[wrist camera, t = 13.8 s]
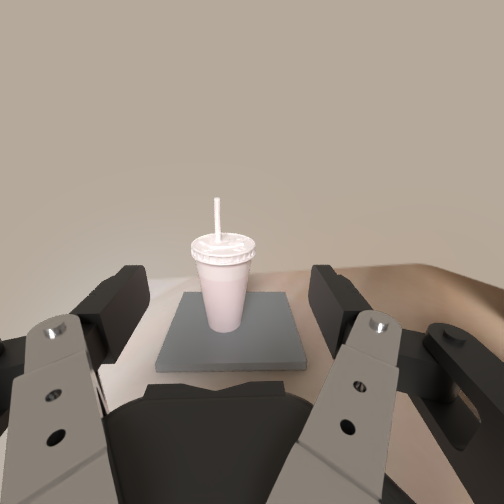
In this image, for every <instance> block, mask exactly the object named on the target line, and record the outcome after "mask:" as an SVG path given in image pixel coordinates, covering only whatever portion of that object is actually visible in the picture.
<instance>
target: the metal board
mask: <svg viewBox="0 0 504 504" xmlns="http://www.w3.org/2000/svg"><path fill="white" fill-rule="evenodd" d="M155 366H156V372H198V371H256V370H306V367H307V359H306V356H305V353H304V350H303V347H302V344H301V341H300V337H299V334H298V331H297V328H296V325H295V322H294V319H293V315H292V312H291V309H290V306H289V303H288V300H287V297H286V294H285V292H246V295H245V301H244V307H243V312H242V318H241V324H240V326H239V327H238V328H237V329H236V330H234V331H231V332H227V333H220V332H216V331H214V330H212V329H211V328H210V326H209V323H208V319H207V314H206V309H205V304H204V299H203V294H202V292H184V293H183V296H182V298H181V301H180V303H179V306H178V308H177V311H176V313H175V316H174V318H173V321H172V323H171V326H170V328H169V331H168V333H167V336H166V338H165V341H164V343H163V346H162V348H161V351H160V353H159V356H158V358H157V361H156V363H155Z"/></svg>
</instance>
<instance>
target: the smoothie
mask: <svg viewBox="0 0 504 504" xmlns="http://www.w3.org/2000/svg"><path fill="white" fill-rule="evenodd" d="M214 210H215V211H214V212H215V233H213V234H207V235H204V236H201V237H198V238H197V239H195V240H194V241H193V242H192V243H191V249H192V251H191V255H192V257H193V258H194V259H196V265H197V270H198V274H199V279H200V284H201V289H202V294H203V299H204V304H205V309H206V314H207V319H208V323H209V326H210V328H211V329H212V330H214V331H216V332H220V333H227V332H231V331H234V330H236V329H237V328H238V327H239V326H240V324H241V318H242V312H243V307H244V301H245V295H246V289H247V283H248V277H249V271H250V265H251V259H252V258H253V257H254V256H255V254H256V251H255V242H254V241H253V240H252V239H251V238H249V237H247V236H244V235H240V234H235V233H221V215H220V198H218V197H216V198H214Z"/></svg>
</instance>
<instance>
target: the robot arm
mask: <svg viewBox="0 0 504 504" xmlns="http://www.w3.org/2000/svg"><path fill="white" fill-rule="evenodd" d="M308 298H309V304H310V307H311V309H312V311H313V314H314V316H315V318H316V321H317V323H318V325H319V327H320V330H321V332H322V334H323V337H324V339H325V341H326V344H327V346H328V348H329V351H330V353H331V355H332V358H333V360H334V359H335V361H334V363H333V365H332V367H331V369H330V372H329V374H328V376H327V378H326V380H325V383H324V385H323V387H322V389H321V391H320V394H319V396H318V398H317V400H316V402H315V404H314V405H313V404H311V403H310V402H308V401H306V400H305V399H303V398H300V397H298V396H296V395H293V394H290V393H286V392H285V389H284V384H283V381H261V382H248V383H244V384H240V385H237V386H233V387H230V388H226V389H222V390H218V391H212V390H207V389H203V388H199V387H194V386H190V385H186V384H149V385H148V386H147V388H146V391H145V393H144V396H143V397H141V398H138V399H135V400H133V401H130V402H128V403H126V404H124V405H122V406H120V407H118V408H117V409H115V410H113V411H112V412H109V409H108V405H107V401H106V397H105V394H104V390H103V386H102V382H101V379H100V375H99V372H98V369H99V367H100V366H101V364H115V363H116V361H117V359H118V357H119V356H120V354H121V352H122V351H123V349H124V347H125V345H126V344H127V342H128V340H129V339H130V337H131V335H132V333H133V332H134V330H135V328H136V327H137V325H138V323H139V321H140V320H141V318H142V316H143V315H144V313H145V311H146V309H147V308H148V306H149V302H150V292H149V286H148V281H147V276H146V271H145V268H144V266H142V265H126V266H124V267H123V268H122V269H121V270H120V271H119V272H118V273H117V274H116V275H115V276H112V277H110V278H108V279H106V280H104V281H103V282H101V283H100V284H99V285H98V286H97V287H96V288H95V290H93V291H92V292H91V293H90V294H89V296H87V297H86V298H85V299H84V300H83V301H82V302H81V303H80V304H79V305H78V306H77V307H76V308H75V309H73V310H72V311H71V312H70V313H69V314H65V315H59V316H55V317H52V318H49V319H47V320H45V321H43V322H41V323H39V324H37V325H36V326H35V327H33V328H32V329H31V330H30V331H29V332H28V334H27V336H23V337H19V338H14V339H9V340H5V341H1V339H0V436H1V435H2V434H3V432H4V431H5V430H6V429H7V427H8V434H7V443H6V454H5V463H4V473H3V482H2V492H1V502H0V504H416V503H415V502H414V501H413V500H412V499H411V498H410V497H409V496H408V495H407V494H406V493H405V492H404V491H403V490H402V489H401V488H400V487H399V486H398V485H397V484H396V483H395V482H394V481H393V480H392V479H391V478H390V477H389V476H388V475H387V474H385V466H386V459H387V452H388V445H389V438H390V431H391V424H392V417H393V410H394V403H395V396H396V391H399V392H403V393H407V394H408V395H409V397H410V399H411V400H412V402H413V404H414V405H415V407H416V408H417V410H418V412H419V413H420V415H421V417H422V418H423V420H424V422H425V423H426V425H427V426H428V428H429V430H430V431H431V433H432V435H433V436H434V438H435V440H436V441H437V443H438V445H439V446H440V448H441V449H442V451H443V453H444V454H445V456H446V458H447V459H448V461H449V463H450V464H451V466H452V467H453V469H454V471H455V472H456V474H457V476H458V477H459V479H460V481H461V482H462V484H463V485H464V487H465V489H466V490H467V492H468V494H469V495H470V497H471V499H472V500H473V502H474V504H504V363H503V362H502V361H501V360H500V359H499V358H498V357H497V356H495V355H494V354H493V353H492V352H491V351H490V350H489V349H487V348H486V347H485V346H484V345H483V344H482V343H481V342H479V341H478V340H477V339H476V338H475V337H473V336H472V335H471V334H469V333H468V332H466V331H464V330H462V329H460V328H458V327H455V326H452V325H449V324H444V323H433V324H430V325H429V327H428V329H427V331H426V334H425V333H420V332H415V331H410V330H405V329H402V328H401V325H400V324H399V323H398V321H396V320H395V319H394V318H393V317H391V316H389V315H387V314H385V313H383V312H379V311H375V310H373V309H372V307H371V306H370V305H369V304H368V302H367V301H366V300H365V299H364V297H363V296H362V295H361V294H359V291H358V290H357V289H356V288H355V286H354V285H353V284H352V283H351V281H350V280H348V279H347V278H345V277H344V276H342V275H337V274H336V273H335V271H334V270H333V269H332V267H331V266H330V265H313V267H312V270H311V278H310V285H309V293H308ZM460 389H461V390H462V391H463V392H464V393H465V395H466V396H467V397H468V398H469V399H470V400H471V402H472V403H473V404H474V405H475V407H476V408H477V410H478V412H479V415H480V419H481V423H480V422H479V420H478V419H477V418H476V417H475V415H474V414H473V413H472V412H471V410H470V409H469V408H468V407H467V405H466V404H465V403H464V402H463V401H462V399H461V398H460V397H459V396H458V393H459V391H460Z"/></svg>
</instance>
